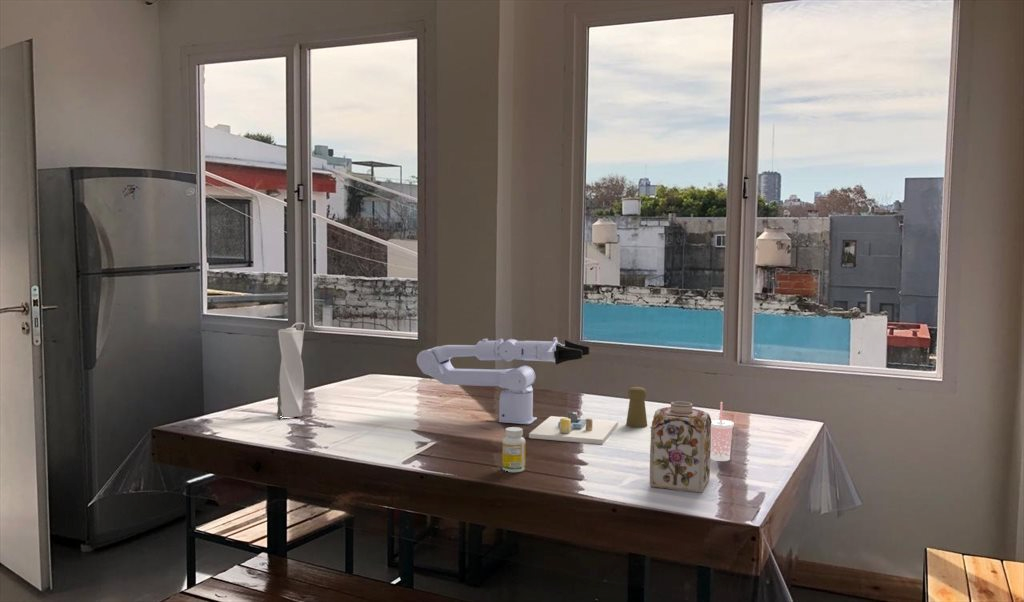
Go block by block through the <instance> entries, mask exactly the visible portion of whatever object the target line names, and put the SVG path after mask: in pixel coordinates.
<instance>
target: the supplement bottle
mask: <svg viewBox="0 0 1024 602" xmlns="http://www.w3.org/2000/svg"><path fill="white" fill-rule="evenodd" d="M523 430H524V429H523V428H522V427H517V426H511V427H509V426H508V427H506V428H505V430H504V431H505V437H504V438H503V439H502V457H501V458H502V460H501V461H502V464H501V465H502V470H503V471H504V470H505V471H504V472H506V471H508V473H521V472H524V471H525V469H526V438H525V437H523V434H524V431H523Z"/></svg>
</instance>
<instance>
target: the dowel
mask: <svg viewBox="0 0 1024 602" xmlns="http://www.w3.org/2000/svg"><path fill="white" fill-rule="evenodd" d="M585 419H586V431H592V421H593V418H585Z"/></svg>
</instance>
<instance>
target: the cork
mask: <svg viewBox="0 0 1024 602" xmlns="http://www.w3.org/2000/svg"><path fill="white" fill-rule="evenodd" d="M627 396H628V397H629V403H628V409H627V415H626V424H625V425H626V426H627V427H629V428H636V429H637V428H638V429H640V428H643V429H644V428H646V427H648V420H647V411H646V402H645V398H646V397H647V390H646V388H644V387H642V386H632V387H631V386H630V388H629V389H628V390H627Z"/></svg>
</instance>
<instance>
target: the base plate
mask: <svg viewBox="0 0 1024 602" xmlns="http://www.w3.org/2000/svg"><path fill="white" fill-rule="evenodd" d="M561 418H567V417H566V416H554V415H550V416H549V417H548V418H546V419H545V420H544V421H543V422H541V423H540V424H539V425H538V426H537V427H535V428H534V429H532V430H531V431H530V432H529V433H528V439H534V440H535V439H536V440H537V439H538V440H548V441H549V440H550V441H560V442H571V443H572V442H573V443H581V444H582V443H585V444H597V445H604V443H605V442H606V441H607V440H608V438H609V437H610V436H611V435H612V433H613V432H614V431H615V430H616V428H617V427H618V426H619V420H609V419H608V420H607V419H593V418H592V419H593V421H592V431H586V424H585V425H584V426H583V427H582V428H581V429H580V428H573V429H572V430H571V432H570V433H561V432H560V427H558V422H559V421H560V419H561ZM577 419H583V418H581V417H578V418H577Z"/></svg>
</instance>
